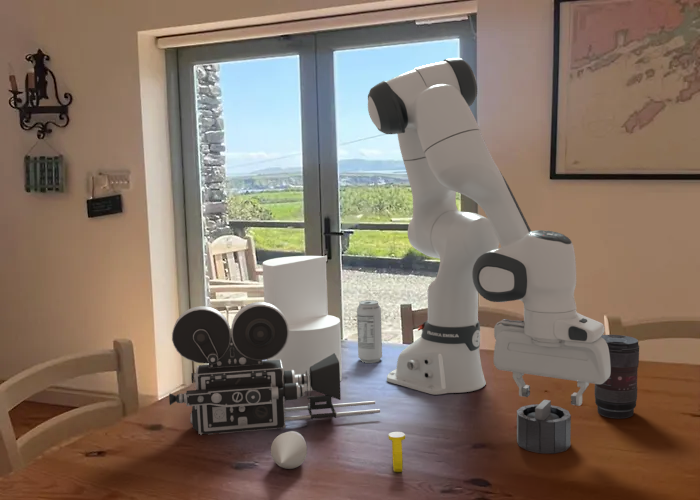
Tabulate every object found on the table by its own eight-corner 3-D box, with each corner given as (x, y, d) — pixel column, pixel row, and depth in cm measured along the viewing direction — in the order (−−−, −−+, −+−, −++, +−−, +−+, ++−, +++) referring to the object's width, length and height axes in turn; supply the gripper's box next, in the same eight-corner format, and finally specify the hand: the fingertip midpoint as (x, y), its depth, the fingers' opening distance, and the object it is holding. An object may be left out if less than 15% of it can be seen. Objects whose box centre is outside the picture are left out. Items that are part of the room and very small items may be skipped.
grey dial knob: (522, 430, 131) (522, 406, 130) (532, 420, 135) (532, 397, 135) (553, 436, 128) (553, 412, 127) (563, 425, 132) (563, 401, 132)
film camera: (171, 444, 137) (163, 317, 134) (176, 422, 149) (168, 305, 146) (384, 426, 143) (381, 304, 140) (372, 405, 155) (369, 293, 152)
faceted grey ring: (509, 446, 132) (509, 415, 131) (529, 430, 139) (529, 401, 138) (558, 457, 126) (558, 425, 126) (577, 440, 134) (577, 410, 133)
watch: (407, 476, 121) (406, 441, 120) (390, 477, 121) (389, 441, 120) (404, 461, 127) (404, 427, 126) (388, 461, 127) (387, 428, 126)
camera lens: (641, 421, 142) (643, 344, 140) (596, 419, 143) (597, 343, 141) (634, 406, 150) (635, 333, 148) (591, 405, 151) (592, 333, 149)
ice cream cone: (279, 491, 117) (291, 466, 132) (309, 465, 116) (318, 444, 131) (254, 460, 117) (269, 439, 132) (283, 435, 117) (295, 417, 132)
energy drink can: (387, 359, 189) (385, 301, 187) (371, 365, 184) (369, 305, 182) (369, 355, 193) (367, 298, 191) (353, 360, 188) (351, 302, 187)
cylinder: (252, 382, 173) (246, 263, 170) (304, 364, 186) (299, 254, 183) (305, 396, 162) (301, 269, 158) (357, 376, 175) (353, 258, 171)
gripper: (487, 321, 133) (488, 396, 135) (603, 334, 122) (602, 415, 124) (501, 314, 139) (501, 386, 141) (613, 325, 127) (613, 403, 129)
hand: (550, 400), depth 132 cm, fingers open, 8 cm apart
